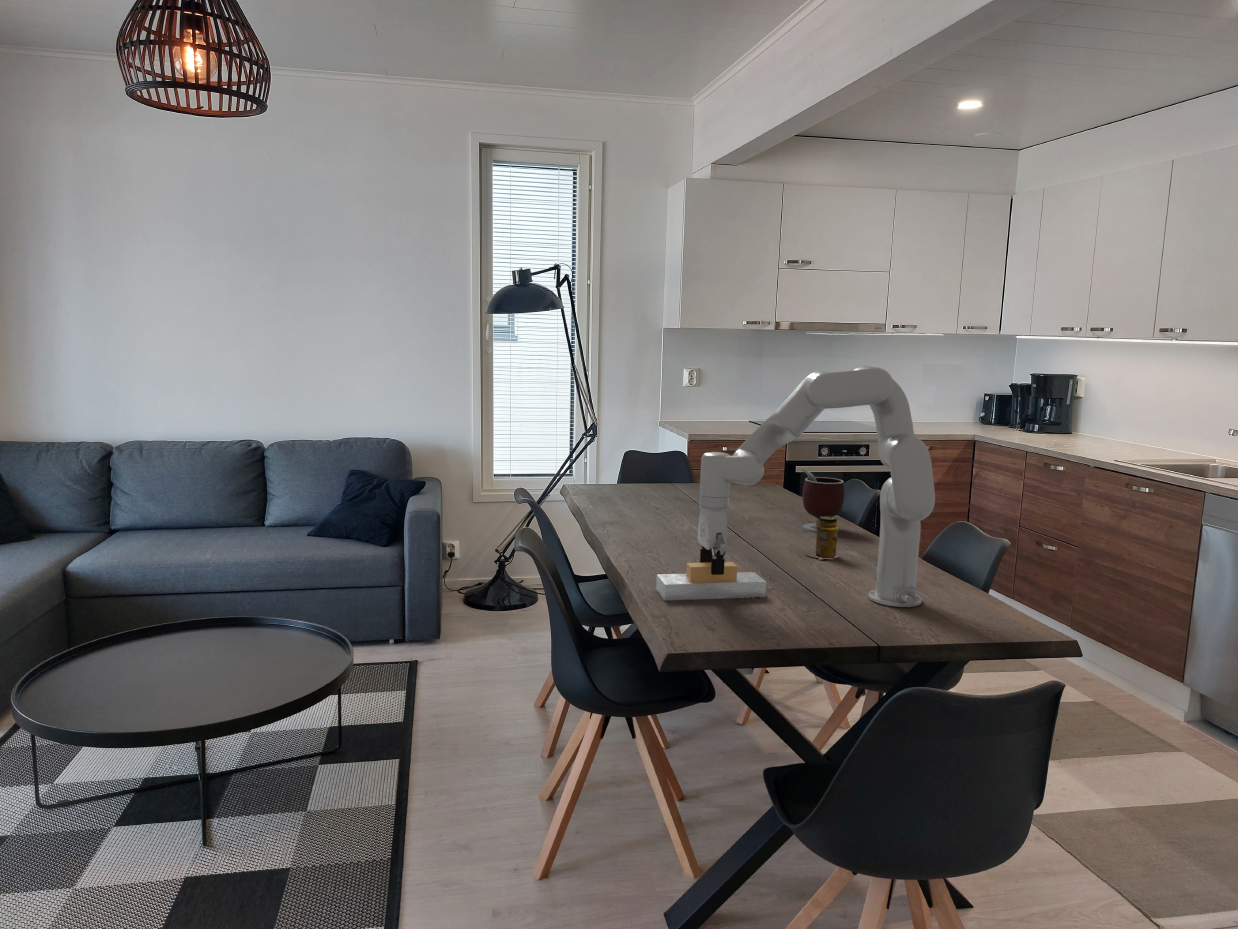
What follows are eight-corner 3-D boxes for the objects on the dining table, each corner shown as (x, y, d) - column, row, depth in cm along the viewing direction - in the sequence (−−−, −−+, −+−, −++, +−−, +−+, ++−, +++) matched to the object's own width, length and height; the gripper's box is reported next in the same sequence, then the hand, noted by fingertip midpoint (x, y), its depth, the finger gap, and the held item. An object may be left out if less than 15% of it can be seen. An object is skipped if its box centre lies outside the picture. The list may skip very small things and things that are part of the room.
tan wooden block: (736, 593, 214) (737, 566, 213) (689, 594, 212) (690, 567, 211) (731, 588, 218) (732, 562, 217) (685, 589, 215) (686, 563, 214)
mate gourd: (849, 529, 294) (853, 472, 291) (829, 535, 284) (833, 476, 281) (809, 522, 304) (812, 466, 301) (788, 527, 294) (792, 470, 291)
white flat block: (765, 597, 213) (766, 581, 212) (664, 600, 208) (665, 584, 207) (753, 586, 221) (754, 572, 221) (656, 589, 217) (656, 574, 216)
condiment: (842, 558, 254) (844, 518, 253) (822, 561, 250) (824, 521, 248) (823, 552, 260) (826, 514, 259) (804, 555, 256) (806, 516, 254)
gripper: (690, 495, 219) (688, 560, 221) (710, 509, 202) (707, 579, 205) (718, 495, 220) (715, 560, 223) (740, 509, 204) (736, 578, 206)
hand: (711, 569), depth 214 cm, fingers open, 9 cm apart
